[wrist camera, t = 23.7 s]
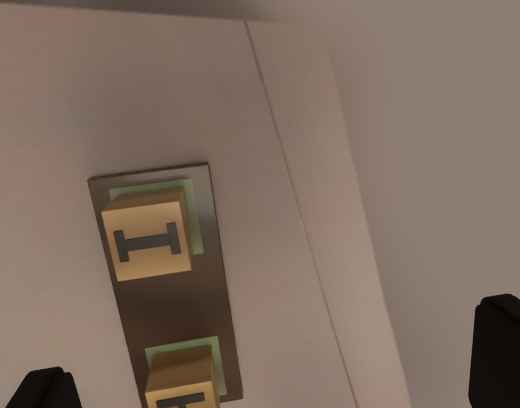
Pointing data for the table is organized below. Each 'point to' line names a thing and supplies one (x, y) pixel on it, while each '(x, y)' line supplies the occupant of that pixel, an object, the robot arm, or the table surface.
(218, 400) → the tile
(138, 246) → the tile
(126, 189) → the word board
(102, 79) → the table surface
